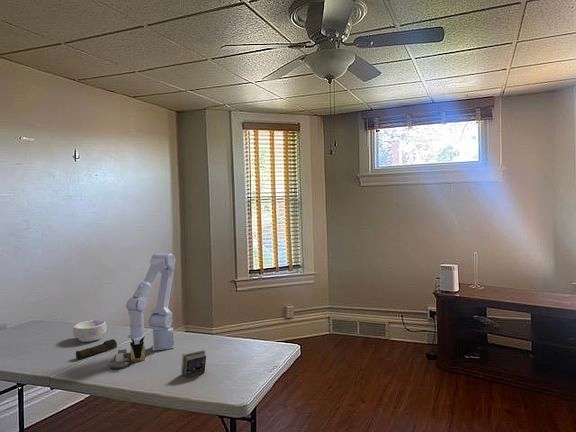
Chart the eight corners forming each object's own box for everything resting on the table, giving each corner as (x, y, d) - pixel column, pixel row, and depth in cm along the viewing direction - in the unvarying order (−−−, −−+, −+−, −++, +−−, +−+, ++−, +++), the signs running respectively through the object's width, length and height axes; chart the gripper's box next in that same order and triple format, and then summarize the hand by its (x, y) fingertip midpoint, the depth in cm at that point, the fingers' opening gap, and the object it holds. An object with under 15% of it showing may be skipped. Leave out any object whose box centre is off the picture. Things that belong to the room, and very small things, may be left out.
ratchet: (129, 368, 178) (128, 356, 178) (109, 370, 176) (109, 358, 176) (131, 352, 198) (131, 341, 198) (113, 354, 195) (113, 343, 195)
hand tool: (79, 361, 189) (79, 350, 188) (75, 359, 191) (75, 348, 191) (119, 349, 203) (119, 339, 203) (115, 347, 206) (115, 337, 206)
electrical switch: (203, 369, 175) (203, 347, 174) (208, 374, 171) (208, 352, 170) (180, 374, 170) (180, 352, 169) (185, 380, 166) (185, 357, 165)
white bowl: (66, 342, 215) (66, 326, 214) (91, 333, 229) (90, 318, 228) (89, 345, 209) (88, 329, 209) (113, 336, 223) (112, 321, 223)
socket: (145, 355, 192) (144, 342, 192) (144, 360, 187) (144, 346, 187) (131, 357, 191) (131, 344, 190) (131, 361, 185) (130, 348, 185)
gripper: (128, 321, 194) (129, 351, 194) (126, 330, 180) (127, 362, 181) (144, 319, 196) (145, 349, 196) (144, 328, 182) (145, 360, 183)
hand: (138, 355), depth 189 cm, fingers closed on socket, 6 cm apart
